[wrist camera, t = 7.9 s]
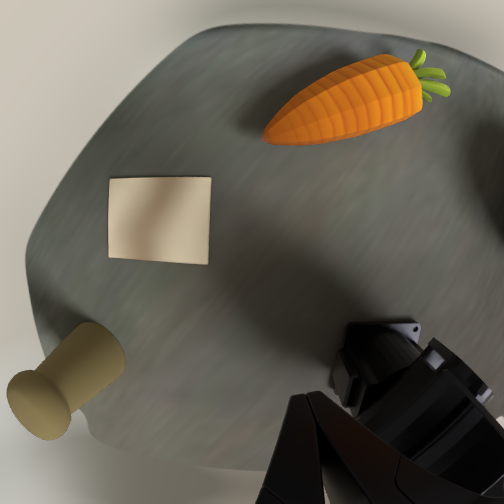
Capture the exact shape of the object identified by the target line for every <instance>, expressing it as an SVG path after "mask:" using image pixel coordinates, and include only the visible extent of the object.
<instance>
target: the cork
mask: <svg viewBox="0 0 504 504" xmlns="http://www.w3.org/2000/svg"><path fill="white" fill-rule="evenodd" d="M125 364H126V361H125V356H124V352H123V350H122V348H121V345H120V343H119V342H118V341H117V339H116V338H115V337H114V335H113V334H112V333H111V332H109V331H108V330H107V329H106V328H105V327H103V326H101V325H99V324H97V323H93V322H84V323H81V324H79V325H78V326H77V327H76V328H75V329H74V330H73V331H72V332H71V333H70V334H69V335H68V336H67V337H66V338H65V339H64V340H63V341H62V342H61V343H60V344H59V345H58V346H57V347H56V348H55V349H54V350H53V352H52V353H51V354H50V355H49V356H48V357H47V358H46V359H45V360H44V361H43V362H42V363H41V364H40V365H39V366H38V367H37V369H36V370H35V371H34V370H26V371H22V372H19V373H18V374H16V375H15V376H14V377H13V378H12V379H11V381H10V382H9V384H8V387H7V399H8V403H9V405H10V408H11V410H12V412H13V413H14V415H15V416H16V418H17V419H18V420H19V422H20V423H21V424H22V425H23V426H24V427H25V428H26V429H27V430H28V431H29V432H31V433H32V434H33V435H35V436H37V437H39V438H41V439H44V440H54V439H57V438H59V437H61V436H62V435H63V434H64V433H65V432H66V431H67V429H68V426H69V424H70V421H71V414H72V413H73V412H75V411H76V410H77V409H79V408H80V407H81V406H83V405H84V404H85V403H86V402H88V401H89V400H90V399H92V398H93V397H94V396H96V395H97V394H98V393H99V392H101V391H102V390H103V389H105V388H106V387H107V386H109V385H110V384H111V383H112V382H114V381H115V380H116V379H118V378H119V377H120V376H121V375H122V374H123V372H124V370H125Z"/></svg>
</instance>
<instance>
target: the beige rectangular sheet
mask: <svg viewBox="0 0 504 504" xmlns="http://www.w3.org/2000/svg"><path fill="white" fill-rule="evenodd" d="M211 181H212V178H211V177H152V178H121V179H110V185H109V212H108V245H109V257H113V258H125V259H138V260H151V261H164V262H178V263H192V264H206V265H208V256H209V224H210V200H211Z"/></svg>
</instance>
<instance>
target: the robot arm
mask: <svg viewBox="0 0 504 504" xmlns="http://www.w3.org/2000/svg"><path fill="white" fill-rule="evenodd" d="M353 327H354V328H355V329H354V330H353V331H350V329H351V328H353ZM414 327H416V329H415V330H413V328H414ZM420 330H421V326H420V324H419V323H417V322H351V323H349V324H348V325H347V326H346V328H345V333H344V339H343V344H342V348H340V349H339V350H338V352H337V357H336V362H335V367H334V372H333V380H334V383H335V384H334V393H335V394H336V395H339V398H340V401H341V404H342V406H343V407H344V408H350V411H351V414H352V416H353V417H352V416H351V415H350V414H348V413H347V412H346V411H345V410H343V409H342V408H341V407H340V406H338V405H337V404H336V403H335V402H333V401H332V400H331V399H330V398H328V397H327V396H326V395H325V394H324V393H322V392H321V391H314V392H309V393H307V394H306V395H305V394H297V395H292V396H291V397H290V400H289V403H288V407H287V410H286V414H285V417H284V420H283V424H282V427H281V430H280V433H279V437H278V440H277V443H276V446H275V449H274V452H273V455H272V458H271V461H270V464H269V467H268V470H267V473H266V476H265V479H264V482H263V485H262V488H261V490H260V492H259V495H258V498H257V500H256V503H255V504H325V498H324V487H325V490H326V493H327V496H328V499H329V501H330V504H504V429H503V428H502V426H501V425H500V424H499V423H498V422H497V421H496V419H495V418H494V417H493V416H492V415H491V414H490V413H489V412H488V410H487V409H486V408H485V405H486V404H488V402H489V401H490V400H491V399H492V398H493V397H494V394H493V393H492V391H491V390H490V389H489V388H488V387H487V385H486V384H485V383H484V382H483V381H482V380H481V379H480V378H479V377H478V376H477V375H476V374H475V373H474V372H473V371H472V370H471V369H470V368H469V367H468V366H467V365H466V364H465V363H464V362H463V361H462V360H461V359H460V358H459V357H458V356H457V355H455V354H454V353H453V352H452V351H450V350H449V349H448V348H447V347H445V346H444V345H443V344H442V343H440V342H439V341H438V340H436V339H435V338H434V337H433V338H432V340H431V341H430V342H429V343H428V344H429V345H428V346H427V348H426V349H425V350H423V349H422V348H421V347H420V346H419V345H418V344H417V342H418V338H419V334H420ZM323 485H324V487H323Z"/></svg>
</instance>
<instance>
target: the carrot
mask: <svg viewBox="0 0 504 504" xmlns="http://www.w3.org/2000/svg"><path fill="white" fill-rule="evenodd" d="M425 58H426V53H425V52H424V51H423V50H421V49H418V50H417V52H416V54H415V56H414V58H413V59H412V61H411V62H410V64H408V63H407V62H405V61H403V60H400V59H398V58H396V57H394V56H391V55H388V54H382V55H377V56H374V57H371V58H368V59H364V60H361V61H358V62H356V63H353V64H350V65H348V66H345V67H343V68H340V69H338V70H335V71H333V72H331V73H329V74H328V75H326V76H324V77H322V78H321V79H319V80H317V81H315V82H314V83H312V84H311V85H309V86H308V87H306V88H305V89H303V90H302V91H300V92H299V93H297V94H296V95H295V96H294V97H293V98H292V99H291V100H290V101H288V102H287V103H286V104H285V105H284V106H283V107H282V108H281V109H280V110H279V111H278V113H277V114H276V115H275V116H274V117H273V119H272V120H271V121H270V122H269V124H268V125H267V126H266V127H265V130H264V132H263V135H262V140H263V142H266V143H269V144H273V145H311V144H321V143H326V142H331V141H337V140H342V139H346V138H350V137H355V136H359V135H363V134H366V133H369V132H372V131H375V130H378V129H381V128H384V127H386V126H389V125H392V124H395V123H398V122H401V121H403V120H405V119H407V118H409V117H411V116H412V115H414V114H415V113H417V112H419V111H420V110H421V109H422V98H423V99H425V100H426V101H427V102H429V103H430V102H431V99H432V98H431V96H430V95H429V94H428V93H427V92H425V91H424V90H427V91H431V92H434V93H436V94H439V95H442V96H444V97H448V96H449V95H450V92H451V91H450V88H449V87H448V86H447V85H444V84H442V83H439V82H436V81H433V80H427V79H422V77H431V78H438V79H445V74H444V72H443V70H442V69H437V68H422V69H418V68H419V67H420V66H421V65H422V64H423V63H424V61H425ZM417 69H418V70H417Z"/></svg>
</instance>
